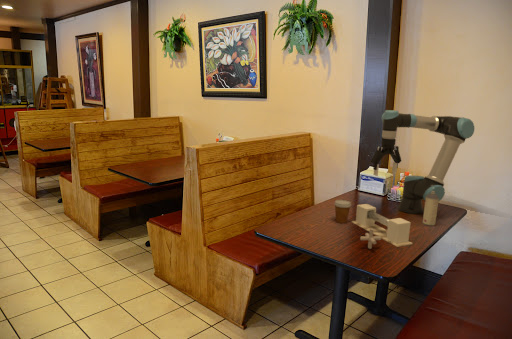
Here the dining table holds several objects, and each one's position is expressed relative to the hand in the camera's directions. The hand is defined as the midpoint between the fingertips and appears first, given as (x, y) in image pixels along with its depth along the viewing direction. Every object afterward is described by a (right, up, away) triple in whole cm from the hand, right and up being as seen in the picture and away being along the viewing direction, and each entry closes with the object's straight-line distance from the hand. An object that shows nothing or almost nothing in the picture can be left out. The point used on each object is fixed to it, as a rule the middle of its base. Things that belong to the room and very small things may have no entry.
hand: (384, 174), depth 216 cm
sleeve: (-11, -29, +1) cm, 31 cm away
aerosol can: (+27, -29, +4) cm, 40 cm away
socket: (-1, -34, -22) cm, 41 cm away
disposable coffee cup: (-24, -28, +5) cm, 37 cm away
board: (-7, -32, -11) cm, 34 cm away
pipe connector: (-18, -36, -31) cm, 51 cm away
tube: (-5, -27, -14) cm, 31 cm away
